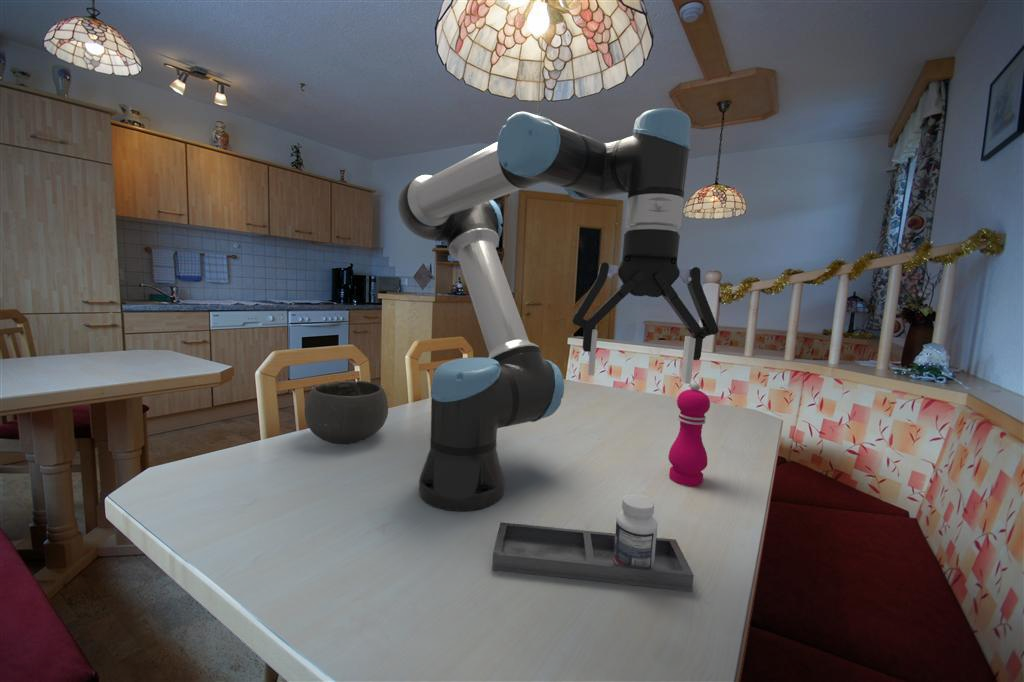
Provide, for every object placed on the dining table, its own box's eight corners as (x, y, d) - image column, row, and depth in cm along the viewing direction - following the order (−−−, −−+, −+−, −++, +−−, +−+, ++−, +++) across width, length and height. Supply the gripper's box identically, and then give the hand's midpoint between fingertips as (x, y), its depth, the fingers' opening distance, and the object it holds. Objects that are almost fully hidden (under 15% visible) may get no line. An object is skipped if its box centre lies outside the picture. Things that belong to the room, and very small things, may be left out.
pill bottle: (623, 546, 60) (628, 487, 59) (659, 562, 57) (665, 500, 56) (606, 564, 56) (611, 500, 55) (644, 582, 53) (650, 515, 52)
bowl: (349, 423, 109) (349, 375, 108) (404, 436, 101) (405, 385, 100) (286, 444, 93) (285, 388, 92) (345, 461, 85) (345, 400, 84)
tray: (492, 569, 54) (492, 553, 54) (499, 536, 62) (500, 522, 62) (691, 591, 52) (693, 575, 52) (674, 554, 60) (675, 539, 59)
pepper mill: (709, 490, 80) (720, 387, 78) (669, 485, 82) (679, 384, 80) (700, 474, 87) (710, 380, 85) (664, 470, 89) (672, 377, 87)
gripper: (563, 223, 57) (551, 375, 60) (757, 230, 54) (736, 391, 57) (563, 230, 65) (554, 365, 67) (734, 238, 62) (717, 379, 64)
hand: (637, 377), depth 62 cm, fingers open, 13 cm apart
